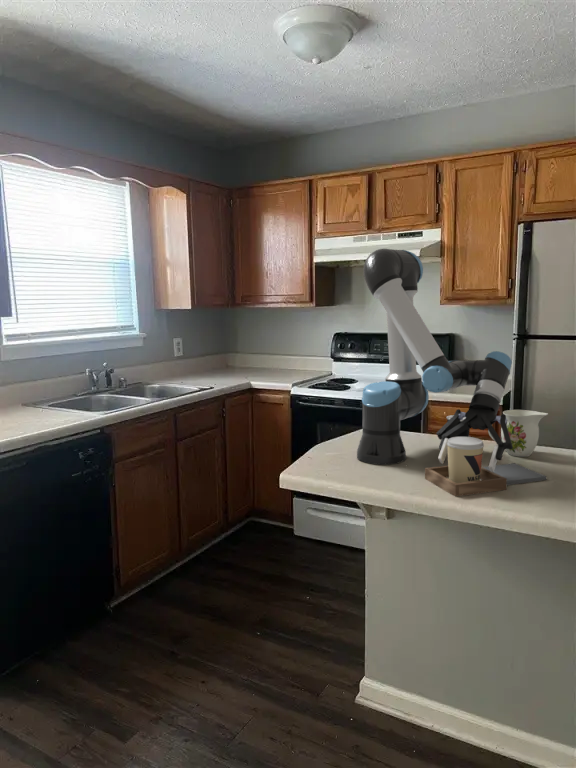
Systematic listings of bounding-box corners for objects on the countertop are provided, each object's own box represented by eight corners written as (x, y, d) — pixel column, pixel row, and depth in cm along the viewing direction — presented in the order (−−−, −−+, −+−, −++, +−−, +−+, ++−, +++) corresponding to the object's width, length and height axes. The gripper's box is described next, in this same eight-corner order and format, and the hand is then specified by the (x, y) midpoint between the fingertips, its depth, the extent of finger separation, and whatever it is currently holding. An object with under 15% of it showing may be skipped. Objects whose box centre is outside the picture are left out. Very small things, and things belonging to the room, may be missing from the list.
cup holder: (424, 478, 154) (425, 468, 154) (471, 472, 158) (472, 462, 158) (455, 496, 140) (455, 485, 139) (506, 489, 144) (506, 478, 144)
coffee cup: (470, 492, 143) (471, 447, 141) (439, 484, 150) (439, 440, 148) (489, 484, 149) (490, 440, 147) (458, 476, 156) (459, 434, 154)
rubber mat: (475, 471, 160) (476, 467, 160) (514, 466, 163) (514, 463, 163) (505, 485, 147) (505, 481, 147) (546, 479, 151) (546, 476, 151)
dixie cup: (476, 450, 180) (477, 417, 179) (460, 455, 176) (461, 421, 174) (455, 446, 187) (456, 413, 185) (440, 450, 182) (441, 417, 180)
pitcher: (493, 445, 187) (494, 405, 185) (550, 453, 175) (553, 411, 173) (481, 452, 178) (482, 410, 176) (540, 462, 167) (542, 417, 165)
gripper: (535, 412, 151) (516, 480, 142) (447, 403, 166) (425, 464, 157) (530, 396, 146) (511, 465, 137) (440, 388, 161) (417, 450, 152)
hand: (465, 465), depth 147 cm, fingers open, 13 cm apart
